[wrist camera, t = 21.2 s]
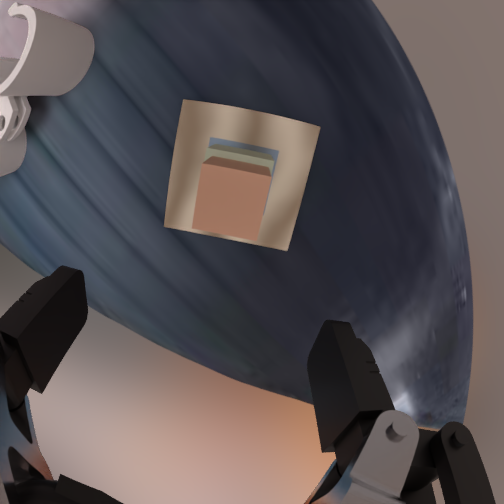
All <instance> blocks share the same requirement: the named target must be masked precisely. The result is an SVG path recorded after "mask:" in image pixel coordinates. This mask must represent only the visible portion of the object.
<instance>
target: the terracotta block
mask: <svg viewBox="0 0 504 504" xmlns="http://www.w3.org/2000/svg"><path fill="white" fill-rule="evenodd" d="M271 179H272V176H271V173H270V170H269V167H266V166H261V165H256V164H252V163H247V162H242V161H237V160H232V159H226V158H221V157H215V156H211V157H210V158H209V159H207V160H206V161H204V162H203V163H202V167H201V172H200V178H199V184H198V190H197V196H196V203H195V209H194V216H193V223H192V229H198V230H203V231H208V232H213V233H218V234H223V235H228V236H233V237H238V238H243V239H248V240H253V241H257V238H258V234H259V229H260V225H261V221H262V217H263V213H264V209H265V204H266V200H267V196H268V192H269V188H270V183H271Z"/></svg>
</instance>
